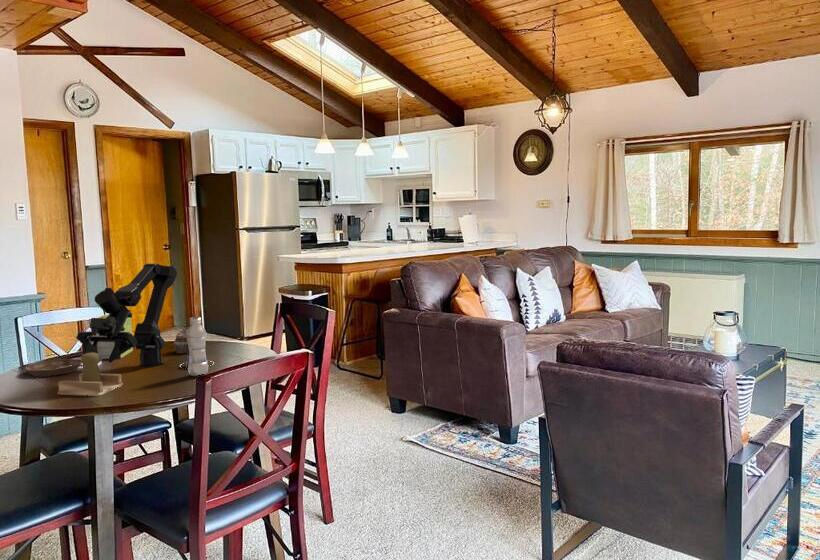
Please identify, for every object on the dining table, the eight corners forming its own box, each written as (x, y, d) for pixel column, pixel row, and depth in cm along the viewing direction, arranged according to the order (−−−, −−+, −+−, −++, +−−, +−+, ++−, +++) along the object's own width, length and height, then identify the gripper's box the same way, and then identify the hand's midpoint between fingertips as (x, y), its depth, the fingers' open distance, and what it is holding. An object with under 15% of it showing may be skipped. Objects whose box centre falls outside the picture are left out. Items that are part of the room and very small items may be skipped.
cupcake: (181, 349, 254) (180, 325, 252) (203, 349, 252) (202, 325, 251) (170, 354, 244) (168, 329, 243) (193, 354, 243) (192, 329, 242)
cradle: (84, 384, 201) (83, 372, 201) (123, 385, 199) (122, 373, 198) (57, 394, 189) (56, 382, 189) (98, 395, 187) (97, 383, 187)
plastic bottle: (212, 373, 211) (209, 316, 209) (200, 378, 205) (196, 319, 203) (197, 372, 214) (194, 315, 212) (184, 377, 207) (180, 319, 205)
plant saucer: (29, 369, 224) (28, 361, 223) (84, 364, 231) (83, 356, 231) (21, 381, 208) (20, 372, 207) (80, 374, 215) (80, 366, 215)
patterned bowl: (220, 362, 229) (219, 349, 229) (204, 370, 217) (204, 356, 217) (190, 362, 231) (189, 348, 230) (173, 370, 219) (172, 355, 219)
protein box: (133, 350, 253) (130, 313, 251) (121, 358, 238) (118, 319, 236) (106, 351, 251) (104, 314, 250) (92, 360, 236) (89, 320, 235)
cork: (85, 390, 190) (82, 356, 189) (78, 387, 194) (75, 353, 193) (105, 386, 194) (103, 352, 193) (98, 383, 198) (95, 350, 197)
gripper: (77, 307, 201) (55, 348, 192) (128, 307, 198) (109, 349, 189) (95, 326, 210) (75, 366, 200) (145, 326, 207) (127, 367, 197)
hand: (96, 361), depth 196 cm, fingers open, 9 cm apart
